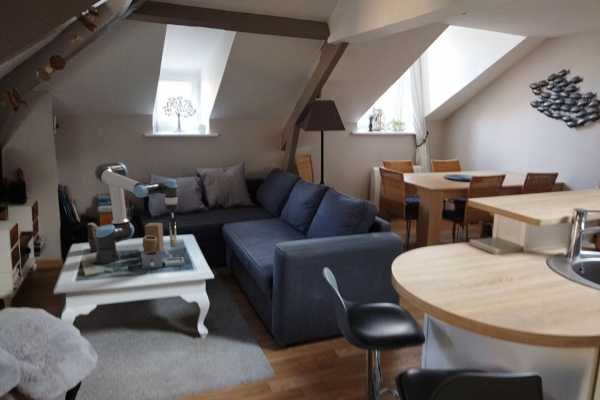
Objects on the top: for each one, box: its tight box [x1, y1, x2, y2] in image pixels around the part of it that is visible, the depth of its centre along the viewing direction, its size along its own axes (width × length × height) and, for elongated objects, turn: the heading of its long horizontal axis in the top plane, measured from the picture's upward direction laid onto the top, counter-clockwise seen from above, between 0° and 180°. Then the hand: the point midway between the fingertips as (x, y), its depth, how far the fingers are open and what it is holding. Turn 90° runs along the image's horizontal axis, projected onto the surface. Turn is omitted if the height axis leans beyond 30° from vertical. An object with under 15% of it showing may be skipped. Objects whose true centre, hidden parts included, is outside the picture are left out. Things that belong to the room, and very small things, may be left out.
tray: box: [163, 256, 185, 268], centre depth 300 cm, size 12×12×2 cm
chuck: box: [141, 250, 163, 270], centre depth 292 cm, size 12×18×8 cm, turn 19°
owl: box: [86, 221, 99, 253], centre depth 331 cm, size 13×13×20 cm
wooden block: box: [144, 222, 165, 252], centre depth 328 cm, size 10×10×20 cm
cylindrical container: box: [168, 221, 178, 248], centre depth 297 cm, size 4×4×16 cm
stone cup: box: [139, 235, 157, 260], centre depth 314 cm, size 15×12×15 cm
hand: (173, 238), depth 298 cm, fingers closed on cylindrical container, 4 cm apart
